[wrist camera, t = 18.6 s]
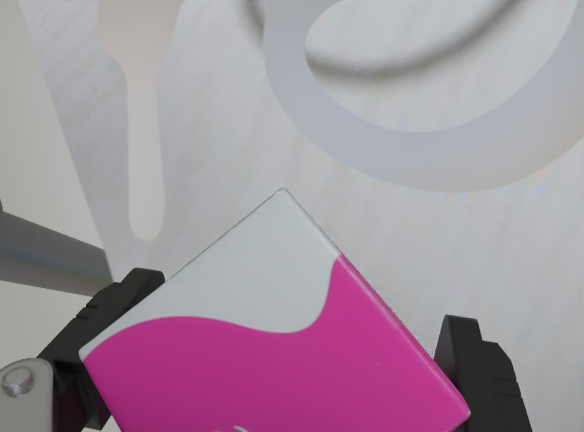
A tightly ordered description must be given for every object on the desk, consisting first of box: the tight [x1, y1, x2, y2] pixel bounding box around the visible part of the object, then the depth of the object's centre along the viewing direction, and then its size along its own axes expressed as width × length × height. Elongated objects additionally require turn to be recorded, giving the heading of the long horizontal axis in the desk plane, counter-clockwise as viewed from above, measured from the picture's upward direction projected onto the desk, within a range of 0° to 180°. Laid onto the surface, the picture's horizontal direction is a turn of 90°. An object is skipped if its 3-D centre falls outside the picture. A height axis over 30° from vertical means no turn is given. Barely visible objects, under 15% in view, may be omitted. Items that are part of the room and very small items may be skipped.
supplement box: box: [79, 188, 471, 432], centre depth 14 cm, size 6×6×12 cm
